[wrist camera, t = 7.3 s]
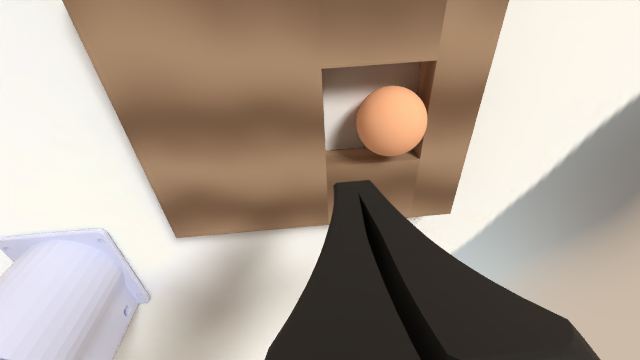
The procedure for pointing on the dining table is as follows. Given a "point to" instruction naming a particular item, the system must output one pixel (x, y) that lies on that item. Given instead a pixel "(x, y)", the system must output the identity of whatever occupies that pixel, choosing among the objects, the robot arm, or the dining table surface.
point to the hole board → (282, 100)
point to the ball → (391, 121)
